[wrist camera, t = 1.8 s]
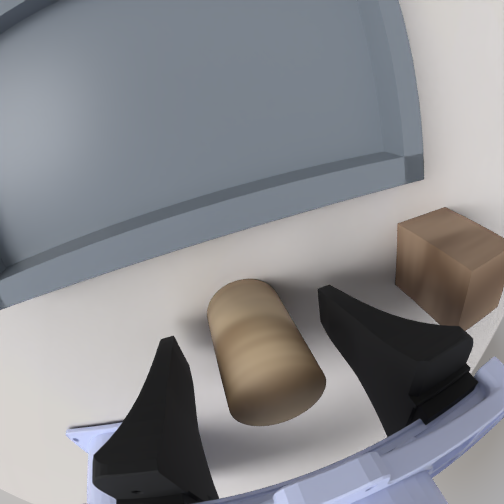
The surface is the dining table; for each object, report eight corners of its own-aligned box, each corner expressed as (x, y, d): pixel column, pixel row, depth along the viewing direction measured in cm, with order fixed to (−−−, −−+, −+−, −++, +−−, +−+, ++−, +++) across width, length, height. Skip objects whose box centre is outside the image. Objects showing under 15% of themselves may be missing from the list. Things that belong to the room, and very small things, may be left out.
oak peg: (283, 325, 16) (327, 405, 11) (218, 347, 15) (242, 435, 10) (272, 269, 14) (324, 349, 9) (197, 293, 14) (216, 386, 9)
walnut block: (439, 263, 17) (497, 306, 12) (394, 283, 17) (454, 338, 12) (444, 207, 15) (514, 244, 10) (397, 223, 15) (471, 271, 10)
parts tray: (396, 169, 13) (423, 179, 12) (6, 289, 11) (-10, 313, 9) (350, -53, 8) (373, -67, 6) (-60, 66, 5) (-84, 66, 3)
